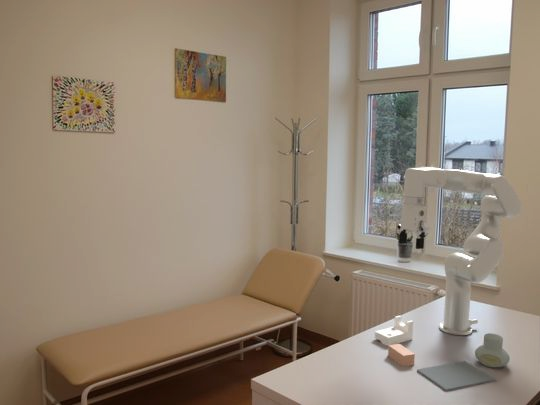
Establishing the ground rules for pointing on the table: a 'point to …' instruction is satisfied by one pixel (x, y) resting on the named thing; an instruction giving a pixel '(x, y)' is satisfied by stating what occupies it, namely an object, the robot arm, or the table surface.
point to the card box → (401, 354)
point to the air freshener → (492, 351)
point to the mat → (456, 375)
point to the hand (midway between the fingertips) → (411, 245)
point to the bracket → (396, 332)
